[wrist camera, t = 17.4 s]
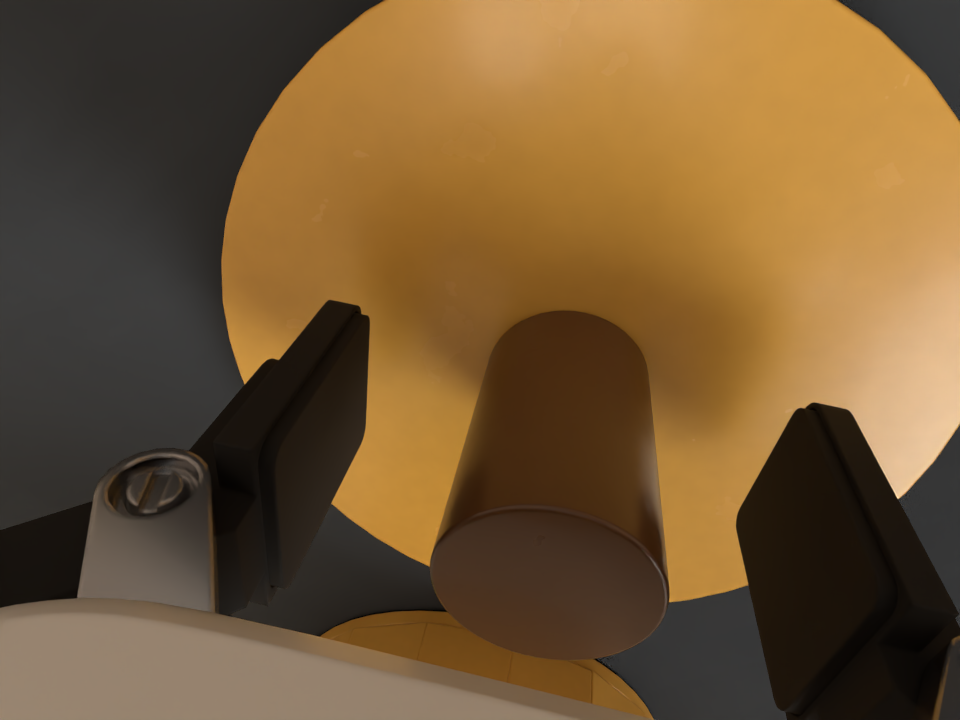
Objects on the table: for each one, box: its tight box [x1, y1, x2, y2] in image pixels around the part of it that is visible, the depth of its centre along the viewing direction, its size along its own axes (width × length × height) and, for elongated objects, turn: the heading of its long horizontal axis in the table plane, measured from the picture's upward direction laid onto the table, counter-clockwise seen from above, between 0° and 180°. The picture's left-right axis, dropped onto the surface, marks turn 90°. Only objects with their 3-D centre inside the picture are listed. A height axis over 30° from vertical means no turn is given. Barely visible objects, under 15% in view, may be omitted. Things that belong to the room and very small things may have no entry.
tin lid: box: [221, 0, 960, 660], centre depth 11 cm, size 15×15×6 cm
